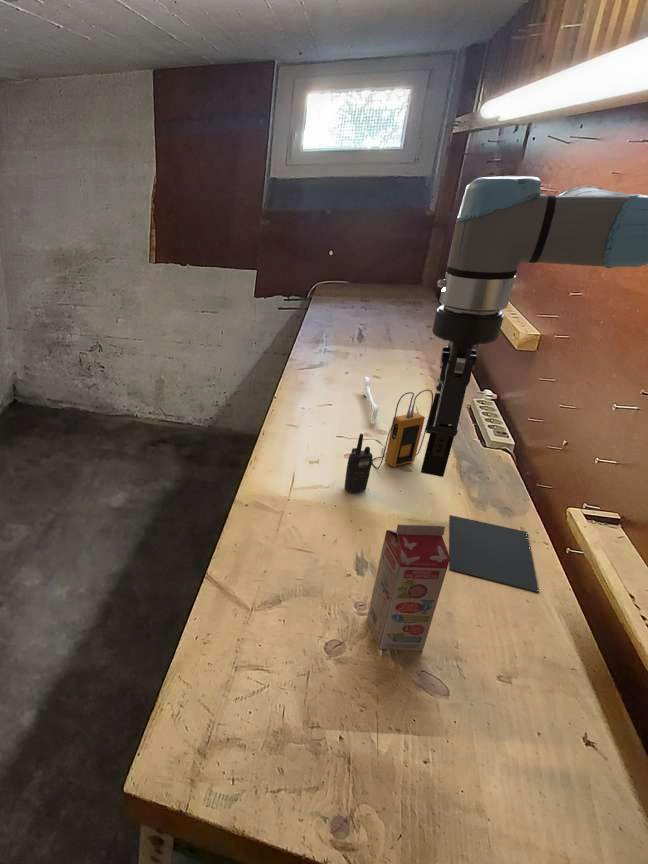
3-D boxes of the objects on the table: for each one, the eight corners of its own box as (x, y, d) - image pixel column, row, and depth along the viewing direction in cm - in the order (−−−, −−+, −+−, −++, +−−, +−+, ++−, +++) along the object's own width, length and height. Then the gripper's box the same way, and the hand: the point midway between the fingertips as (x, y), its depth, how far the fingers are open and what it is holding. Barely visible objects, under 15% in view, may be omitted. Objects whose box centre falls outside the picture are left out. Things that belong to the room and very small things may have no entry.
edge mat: (527, 532, 116) (527, 531, 116) (538, 592, 100) (539, 592, 100) (449, 515, 122) (449, 514, 122) (449, 570, 107) (449, 569, 107)
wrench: (359, 391, 186) (362, 374, 183) (366, 391, 185) (369, 374, 183) (370, 427, 162) (374, 408, 159) (378, 427, 161) (382, 409, 159)
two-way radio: (348, 494, 131) (358, 437, 124) (337, 485, 135) (347, 429, 128) (369, 491, 132) (380, 434, 125) (358, 481, 136) (368, 426, 129)
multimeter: (396, 443, 153) (411, 374, 144) (425, 460, 144) (443, 388, 135) (351, 453, 149) (364, 383, 140) (379, 470, 140) (394, 397, 131)
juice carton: (366, 618, 96) (390, 512, 87) (407, 620, 96) (436, 513, 86) (379, 649, 90) (406, 538, 81) (422, 651, 90) (455, 539, 80)
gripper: (440, 286, 84) (411, 415, 93) (433, 329, 64) (397, 486, 74) (500, 290, 80) (463, 424, 90) (512, 336, 61) (463, 500, 70)
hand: (433, 452), depth 82 cm, fingers open, 13 cm apart
